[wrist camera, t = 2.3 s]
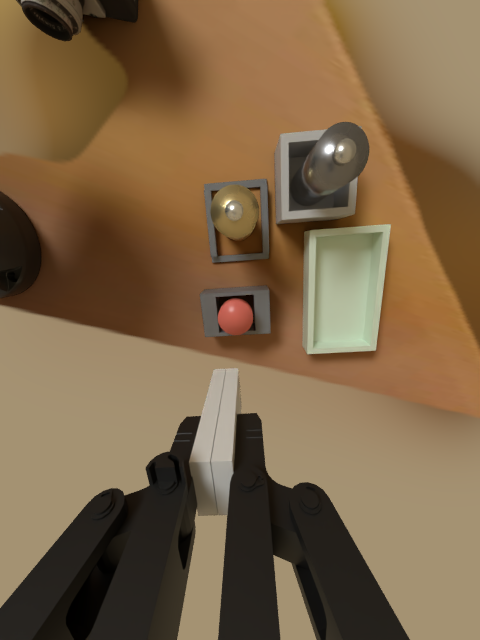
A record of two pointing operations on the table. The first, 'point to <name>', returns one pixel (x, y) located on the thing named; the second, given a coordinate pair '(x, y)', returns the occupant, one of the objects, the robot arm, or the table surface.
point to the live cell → (234, 212)
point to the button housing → (211, 296)
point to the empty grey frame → (264, 220)
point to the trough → (343, 288)
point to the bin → (287, 163)
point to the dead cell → (331, 163)
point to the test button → (235, 316)
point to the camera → (74, 14)
